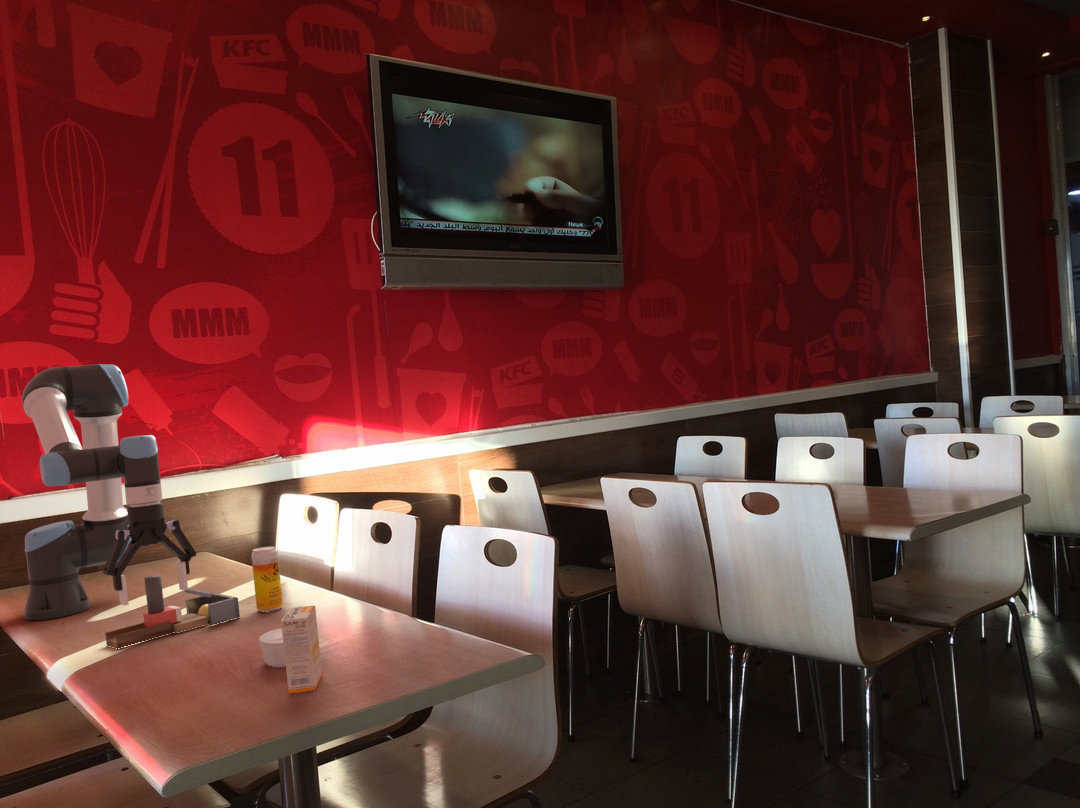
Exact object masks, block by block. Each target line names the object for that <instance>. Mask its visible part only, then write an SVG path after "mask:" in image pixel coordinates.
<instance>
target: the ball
mask: <svg viewBox="0 0 1080 808" xmlns="http://www.w3.org/2000/svg"><path fill="white" fill-rule="evenodd" d="M198 615H201V616H205V617H207V622H209V621H208V620H209V612H208V604H205V605H203V606H201V607H200V609H199V611H198Z"/></svg>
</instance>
